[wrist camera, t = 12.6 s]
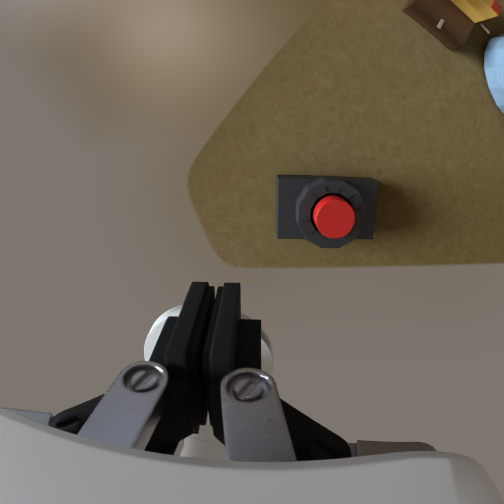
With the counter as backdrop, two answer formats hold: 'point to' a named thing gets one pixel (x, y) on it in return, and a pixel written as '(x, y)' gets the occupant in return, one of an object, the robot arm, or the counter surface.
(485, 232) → the counter surface
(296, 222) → the button box
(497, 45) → the basin
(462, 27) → the base
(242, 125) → the counter surface
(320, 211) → the button
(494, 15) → the yellow block red tip
